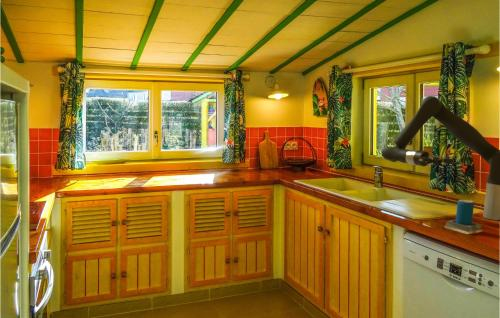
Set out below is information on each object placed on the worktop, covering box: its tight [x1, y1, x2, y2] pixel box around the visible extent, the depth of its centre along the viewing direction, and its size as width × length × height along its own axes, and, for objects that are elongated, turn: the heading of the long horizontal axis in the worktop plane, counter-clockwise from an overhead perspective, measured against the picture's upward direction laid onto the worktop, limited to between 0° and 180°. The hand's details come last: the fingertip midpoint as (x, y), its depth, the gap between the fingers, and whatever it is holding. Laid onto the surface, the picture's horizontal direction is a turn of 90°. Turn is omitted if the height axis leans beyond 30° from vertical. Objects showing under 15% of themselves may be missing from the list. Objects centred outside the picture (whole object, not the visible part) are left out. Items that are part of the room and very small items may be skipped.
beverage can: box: [455, 199, 475, 226], centre depth 190 cm, size 6×6×12 cm
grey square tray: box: [444, 219, 484, 235], centre depth 191 cm, size 11×11×3 cm
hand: (447, 161), depth 204 cm, fingers open, 8 cm apart
